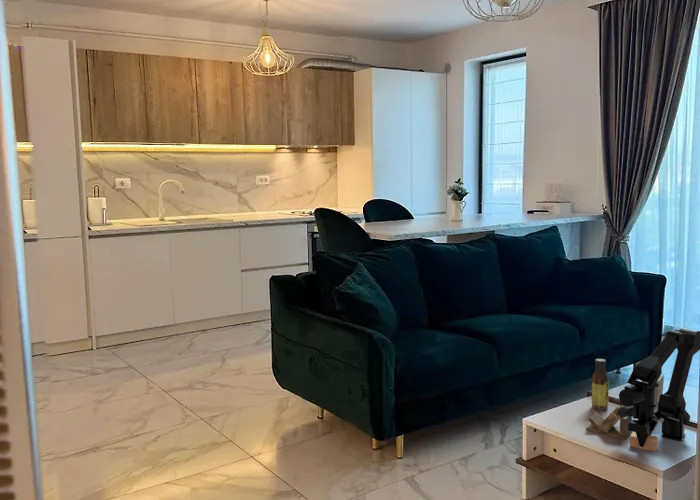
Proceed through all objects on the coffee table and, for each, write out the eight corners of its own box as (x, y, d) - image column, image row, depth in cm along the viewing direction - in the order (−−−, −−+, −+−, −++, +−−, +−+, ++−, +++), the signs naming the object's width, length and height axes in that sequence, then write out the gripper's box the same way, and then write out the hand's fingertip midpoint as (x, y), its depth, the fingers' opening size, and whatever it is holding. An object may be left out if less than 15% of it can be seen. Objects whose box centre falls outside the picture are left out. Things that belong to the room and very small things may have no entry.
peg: (657, 447, 220) (657, 436, 219) (655, 452, 217) (655, 440, 216) (632, 442, 224) (632, 431, 224) (629, 446, 221) (630, 435, 221)
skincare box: (644, 408, 255) (645, 370, 253) (663, 412, 250) (665, 374, 248) (637, 415, 248) (639, 376, 246) (657, 419, 244) (659, 379, 242)
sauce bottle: (609, 411, 253) (610, 362, 250) (592, 410, 254) (594, 362, 252) (606, 405, 259) (607, 358, 257) (590, 404, 260) (591, 357, 258)
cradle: (632, 432, 232) (633, 409, 231) (626, 439, 227) (627, 416, 226) (593, 423, 241) (593, 401, 240) (586, 429, 236) (586, 407, 235)
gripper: (628, 388, 231) (627, 429, 233) (612, 403, 216) (611, 447, 218) (662, 394, 224) (660, 437, 226) (647, 410, 209) (645, 455, 211)
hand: (643, 443), depth 220 cm, fingers open, 5 cm apart
